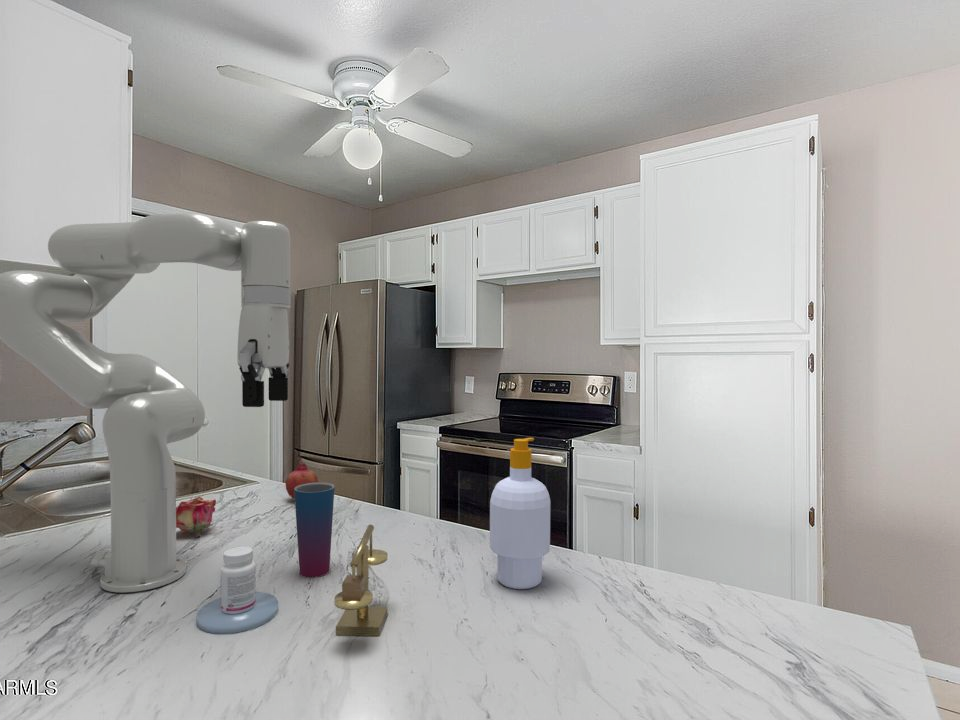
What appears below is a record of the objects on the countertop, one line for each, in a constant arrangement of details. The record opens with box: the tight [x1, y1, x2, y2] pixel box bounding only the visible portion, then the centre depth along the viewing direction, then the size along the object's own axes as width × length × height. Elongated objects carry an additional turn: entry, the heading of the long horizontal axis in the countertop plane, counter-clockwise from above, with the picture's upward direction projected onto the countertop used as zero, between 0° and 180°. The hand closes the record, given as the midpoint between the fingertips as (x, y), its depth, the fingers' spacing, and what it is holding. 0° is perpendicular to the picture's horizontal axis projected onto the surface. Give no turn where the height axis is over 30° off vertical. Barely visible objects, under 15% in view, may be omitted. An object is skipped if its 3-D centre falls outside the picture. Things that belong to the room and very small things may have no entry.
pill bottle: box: [220, 545, 257, 614], centre depth 82 cm, size 5×5×8 cm
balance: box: [333, 524, 389, 637], centre depth 80 cm, size 6×15×13 cm, turn 178°
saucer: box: [196, 591, 279, 635], centre depth 82 cm, size 11×11×1 cm
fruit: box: [285, 461, 319, 500], centre depth 143 cm, size 8×8×10 cm
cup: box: [294, 482, 336, 579], centre depth 98 cm, size 7×7×15 cm
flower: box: [176, 496, 221, 539], centre depth 117 cm, size 10×9×8 cm
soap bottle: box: [489, 437, 551, 590], centre depth 95 cm, size 10×10×24 cm
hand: (266, 403), depth 92 cm, fingers open, 9 cm apart
